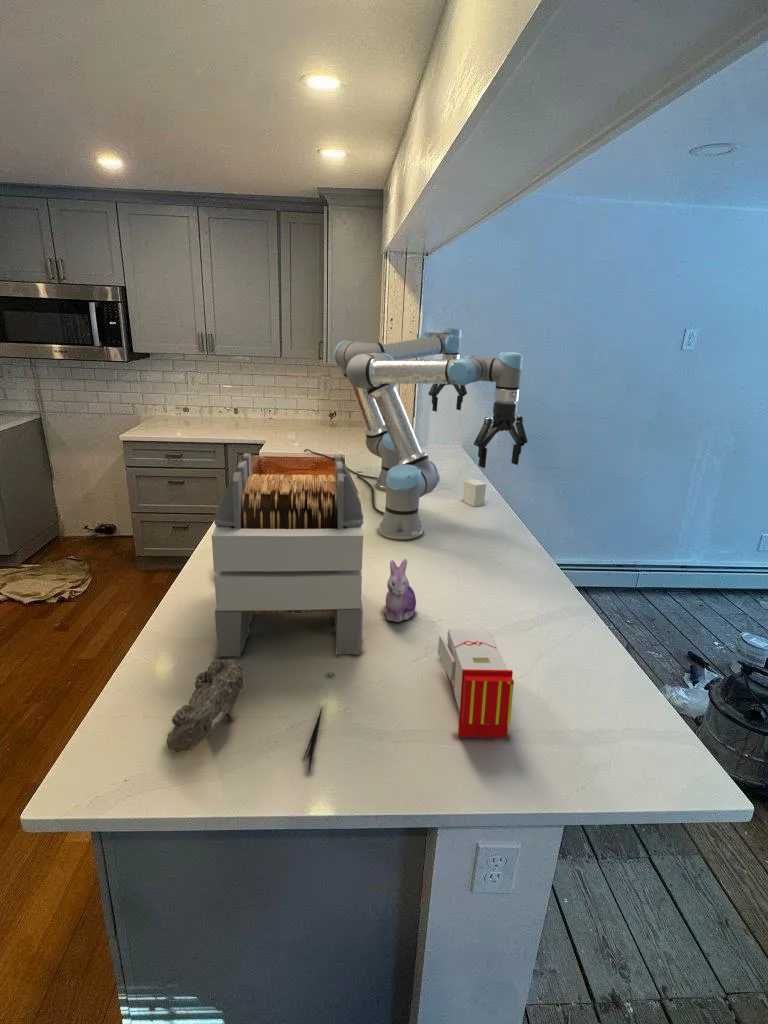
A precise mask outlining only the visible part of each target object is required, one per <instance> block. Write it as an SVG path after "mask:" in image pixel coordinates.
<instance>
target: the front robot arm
mask: <svg viewBox="0 0 768 1024" xmlns="http://www.w3.org/2000/svg"><path fill="white" fill-rule="evenodd" d="M523 357H524V356H523V355H522V354H521V353H519V352H512V351H511V352H509V351H502V352H499V354H498V357H487V356H478V355H465V356H464V357H463V358H459V359H442V358H441V359H408V360H394V359H393V358H392V357H391V356H390V355H388V354H385V353H381V352H374V353H368V354H359V355H356V356H354V357H353V358H352V359H351V360H350V361H349V363H348V365H347V369H346V373H347V377H348V378H347V380H348V381H349V383H350V382H351V383H350V385H351V384H353V385H354V386H356V387H358V388H366V390H367V393H368V395H369V396H370V397H372V398H374V399H375V401H376V404H377V406H378V408H379V411H380V413H381V416H382V418H383V421H384V423H385V426H386V428H387V431H388V433H389V435H390V438H391V440H392V443H393V445H394V448H395V450H396V453H397V455H398V458H399V463H398V465H397V466H394V467H392V468H390V469H389V471H388V473H387V478H386V491H385V504H384V505H385V507H384V508H385V509H384V511H382V510H380V509H378V508H377V507H376V503H375V492H374V488H373V486H372V485H371V483H370V482H369V481H368V480H367V479H365V478H363V476H359V475H357V476H356V477H357V479H359V480H362V482H364V483H365V484H366V485H368V487H369V488H370V491H371V504H372V508H373V510H374V511H375V512H376V513H378V514H381V515H382V519H381V522H379V526H378V533H379V534H380V535H381V536H382V537H385V538H387V539H389V540H395V541H410V540H415V539H418V538H420V537H421V536H422V535H423V525H422V524H421V518H420V515H419V507H420V506H419V505H420V498H423V496H425V495H427V494H430V493H431V492H433V491H434V490H435V489H436V488H437V486H438V484H439V482H440V479H441V474H440V473H441V472H440V469H439V466H438V465H437V464H436V463H435V462H433V461H432V460H430V458H429V456H428V453H427V452H424V451H422V449H421V447H420V443H419V442H418V439H417V437H416V435H415V432H414V429H413V427H412V425H411V423H410V420H409V417H408V415H407V412H406V410H405V407H404V405H403V402H402V400H401V398H400V395H399V392H398V390H397V389H398V386H399V385H416V384H417V385H433V384H438V385H439V384H457V385H459V386H460V385H465V386H466V385H469V384H472V383H476V382H491V383H495V389H494V397H493V398H494V399H493V400H494V402H493V407H492V413H493V415H492V417H488V416H485V417H484V419H483V420H484V421H483V424H482V426H481V428H480V430H479V432H478V433H477V436H476V438H475V440H474V441H473V445H474V446H476V447H478V451H477V457H478V458H479V459H478V467H480V468H482V469H486V463H487V454H488V447H487V446H488V445H489V443H490V442H491V441H492V440H493V438H494V437H495V435H496V434H497V433H499V432H503V431H505V432H508V433H509V434H510V436H511V437H512V439H513V441H514V443H513V446H512V454H511V461H510V462H511V464H513V465H515V466H518V465H519V461H520V455H521V454H522V449H523V448H522V447H524V446H525V444H527V443H528V438H527V433H526V430H525V427H524V424H523V423H524V422H523V421H524V419H523V416H521V415H518V414H517V411H518V403H517V402H519V393H520V384H521V378H522V371H523V359H524V358H523ZM514 425H515V426H514Z"/></svg>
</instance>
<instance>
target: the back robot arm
mask: <svg viewBox="0 0 768 1024" xmlns="http://www.w3.org/2000/svg"><path fill="white" fill-rule="evenodd" d="M461 342H462V329H460V328H451V327H449V328H448V327H447V328H444V332H432V331H431V332H430V331H428V332H422V333H421V334H420V336H419V338H415V339H408V340H403V341H397V342H390V343H382V342H363V341H358V340H354V339H345V340H342V341H340V342H339V343H338V344H337V345H336V346H335V348H334V352H333V359H334V361H335V363H336V364H337V365H338V366H339V367H340V369H341V372H342V374H343V377H344V378H346V379H348V377H347V373H346V369H347V365H348V363H349V361H350V360H351V359H352V358H353V357H354V356H356V355H359V354H368V353H374V352H381V353H385V354H388V355H390V356H391V357H392V358H393V359H394V360H415V359H418V358H419V359H420V358H424V357H430V356H436V355H442V358H441V359H460V354H461V353H460V351H461ZM349 383H350V386H351V389H352V391H353V394H354V397H355V400H356V402H357V405H358V408H359V411H360V414H361V416H362V419H363V422H364V424H365V428H366V429H365V432H364V435H365V446H366V448H367V450H368V451H369V452H370V453H371V454H372V455H374V456H376V457H378V458H380V459H381V467H380V473H379V474H378V477H376V476H371V475H365V474H361V473H358V472H355V471H354V470H352V469H350V468H349V467H347V469H348V471H349V472H351V473H353V474H354V475H357V476H360V477H362V478H363V477H365V478H368V479H373V480H376V488H377V489H378V490H381V491H383V492H386V478H387V473H388V471H389V469H390V468H392V467H394V466H397V465H398V463H399V458H398V455H397V453H396V450H395V448H394V445H393V443H392V440H391V438H390V435H389V433H388V431H387V428H386V426H385V423H384V421H383V418H382V416H381V413H380V411H379V408H378V406H377V404H376V401H375V399H374V398H372V397H370V396H369V395H368V393H367V390H366V388H358V387H356V386H354V385H353V384H351V382H350V381H349ZM445 386H453V388H454V390H455V391H456V392H457V394H458V395H456V405H455V409H456V410H457V411H461V410H462V403H463V402H464V397H465V396H466V395H468V391H467V387H466V385H457V384H431V387H430V390H429V391H428V395H427V396H431V404H432V412H437V413H438V402H439V397H438V395H439V394H440V393H441V391H442V390H443V389H444V387H445ZM306 451H308V452H309V453H311V454H314V455H318V456H322V457H324V458H327V459H330V460H332V461H334V462H335V458H334V457H331V456H329V455H325V454H323V453H318V452H316V451H313V450H311V449H310V448H309V449H308V448H305V449H304V450H303V452H306Z"/></svg>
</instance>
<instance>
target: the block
mask: <svg viewBox="0 0 768 1024" xmlns="http://www.w3.org/2000/svg"><path fill="white" fill-rule="evenodd" d="M463 483H464V484H463V493H462V502H464V503H466V504H468V505H470V506H472V507H478V506H479V507H480V506H484V505H485V497H486V489H487V484H486V483H485V482H483V481H480V480H478V479H476V478H472V479H471V478H470V479H464V482H463Z"/></svg>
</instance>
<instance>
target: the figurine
mask: <svg viewBox="0 0 768 1024" xmlns="http://www.w3.org/2000/svg"><path fill="white" fill-rule="evenodd" d="M407 567H408V559H406V558H404V559H403V560H402V561H401V563H400V565H399V566H398V565H397V563H396V562H395V561H394V560H393V559H391V560H390V561H389V570H390V576H389V578H388V579H387V589H388V591H387V592H386V594H385V595H386V596H385V607H384V615H385V616H386V620H387V621H391V622H395V623H400V622H402V621H406V620H409V619H410V618H411V617H413V616H414V615H415V610H416V606H417V597H416V593H415V591H414V590H413V587H411V586H410V582H409V579H408V577H407V574H406V571H407Z"/></svg>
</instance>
